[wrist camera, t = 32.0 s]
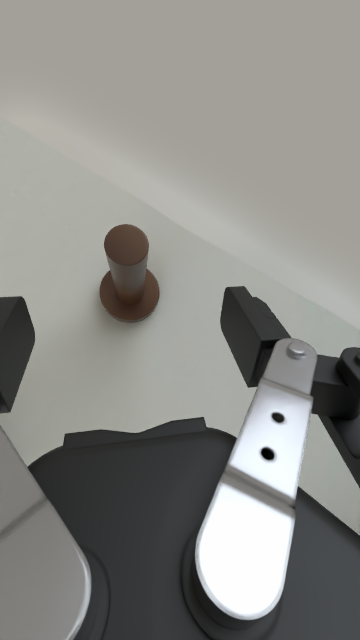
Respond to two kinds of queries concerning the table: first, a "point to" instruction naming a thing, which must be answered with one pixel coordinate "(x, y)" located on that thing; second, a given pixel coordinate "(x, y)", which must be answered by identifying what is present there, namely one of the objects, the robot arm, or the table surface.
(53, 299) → the table surface
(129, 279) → the wooden peg stand
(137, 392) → the table surface
